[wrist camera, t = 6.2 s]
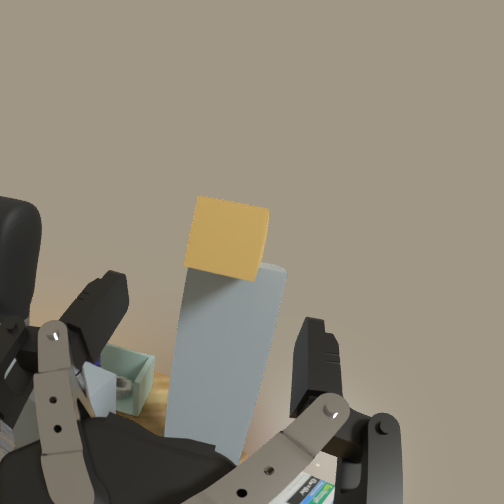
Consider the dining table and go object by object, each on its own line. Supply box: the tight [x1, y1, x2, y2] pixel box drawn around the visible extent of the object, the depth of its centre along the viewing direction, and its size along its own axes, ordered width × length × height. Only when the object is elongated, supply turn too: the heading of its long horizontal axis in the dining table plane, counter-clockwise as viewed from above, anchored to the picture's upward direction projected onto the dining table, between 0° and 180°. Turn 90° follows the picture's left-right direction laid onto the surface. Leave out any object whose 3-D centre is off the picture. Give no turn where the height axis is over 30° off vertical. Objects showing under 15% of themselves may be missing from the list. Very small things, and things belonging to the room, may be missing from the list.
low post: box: [5, 358, 117, 451], centre depth 17 cm, size 8×8×21 cm
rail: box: [184, 196, 269, 282], centre depth 25 cm, size 22×4×4 cm, turn 177°
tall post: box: [164, 262, 288, 466], centre depth 28 cm, size 8×8×32 cm
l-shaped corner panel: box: [100, 343, 155, 417], centre depth 48 cm, size 12×12×8 cm
